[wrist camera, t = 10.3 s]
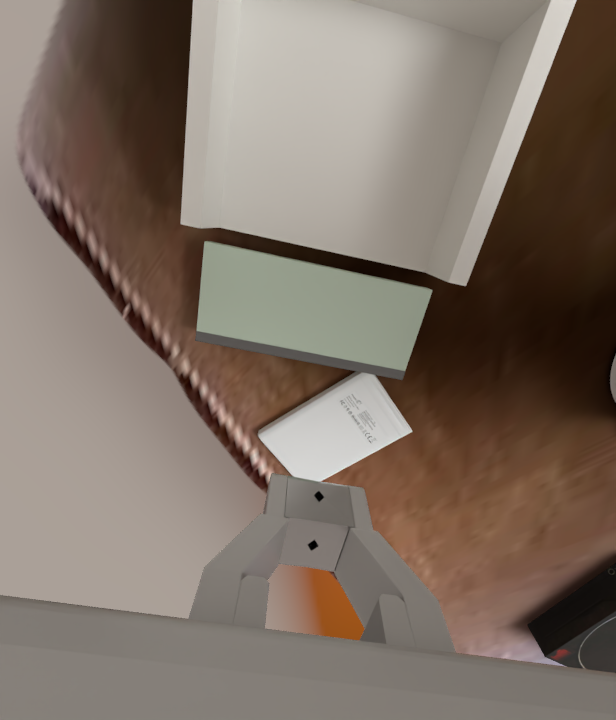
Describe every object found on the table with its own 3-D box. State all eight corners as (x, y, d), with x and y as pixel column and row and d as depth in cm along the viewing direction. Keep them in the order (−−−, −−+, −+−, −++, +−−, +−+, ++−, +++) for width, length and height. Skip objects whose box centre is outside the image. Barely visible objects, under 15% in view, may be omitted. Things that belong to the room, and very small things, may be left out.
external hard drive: (259, 426, 33) (367, 361, 30) (305, 479, 36) (409, 424, 33) (256, 436, 31) (370, 368, 29) (305, 491, 34) (414, 434, 31)
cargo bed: (514, 35, 21) (606, -47, 15) (433, 273, 27) (473, 289, 20) (231, -45, 20) (194, -177, 13) (208, 223, 25) (174, 224, 19)
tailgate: (432, 290, 25) (402, 380, 28) (427, 287, 26) (398, 373, 29) (204, 241, 24) (195, 340, 26) (209, 240, 25) (200, 335, 28)
